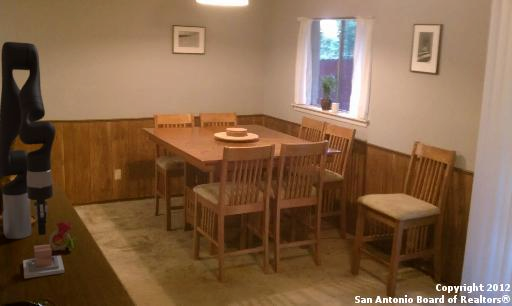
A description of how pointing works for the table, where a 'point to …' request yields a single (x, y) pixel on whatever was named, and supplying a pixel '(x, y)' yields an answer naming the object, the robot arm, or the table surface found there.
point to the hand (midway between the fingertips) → (42, 234)
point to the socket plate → (43, 268)
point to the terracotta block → (43, 256)
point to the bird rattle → (59, 239)
